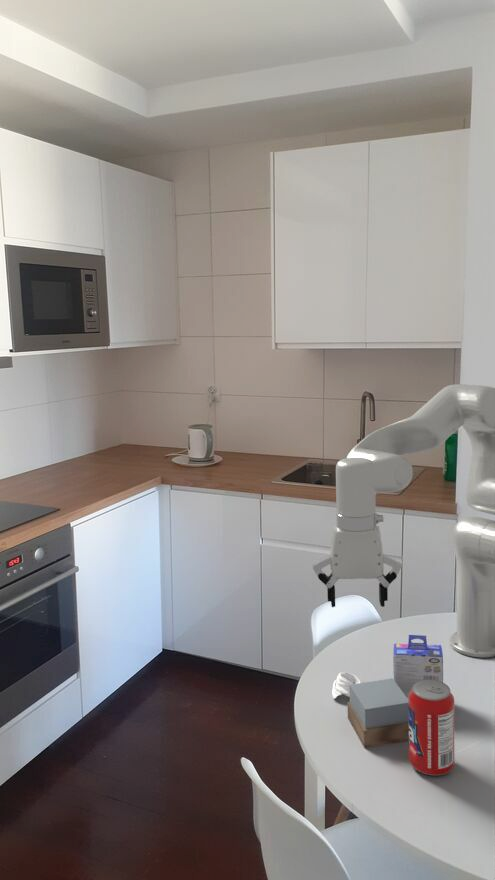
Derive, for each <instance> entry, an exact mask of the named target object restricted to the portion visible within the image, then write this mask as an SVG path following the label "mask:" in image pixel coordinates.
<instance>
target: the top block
mask: <svg viewBox="0 0 495 880" xmlns="http://www.w3.org/2000/svg"><path fill="white" fill-rule="evenodd" d="M349 702H350V704H351V705H352V707H353V709H354V710H355V712H356V714H357V715H358V717H359V719H360V720H361V722H362V724H363V725H364V727H365V729H367V728H374V727H380V726H386V725H392V724H399V723H405V722H409V716H408V698H407V697H406V696H405V694H404V693H403V692H402V690H401V689H400V688H399V686H398V685H397V684H396V682H395V681H394V677H393V678H387V679H380V680H379V679H378V680H373V681H366V682H361V683H358V684H351V685H350V697H349Z"/></svg>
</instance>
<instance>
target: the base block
mask: <svg viewBox="0 0 495 880" xmlns="http://www.w3.org/2000/svg"><path fill="white" fill-rule="evenodd" d="M347 720H348V721H349V723H350V725H351V727H352V728H353V730H354V732H355V734H356V736H357V737H358V739H359V741H360V743H361V745H362V746H363V748H364V749H367V748H371V747H373V748H374V747H379V746H385V745H390V744H391V745H392V744H398V743H405V742H409V722H405V723H399V724H392V725H386V726H380V727H374V728H367V729H365V727H364V725H363V724H362V722H361V720H360V719H359V717H358V715H357V714H356V712H355V710H354V709H353V707H352V705H351V704H350V701H347Z"/></svg>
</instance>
